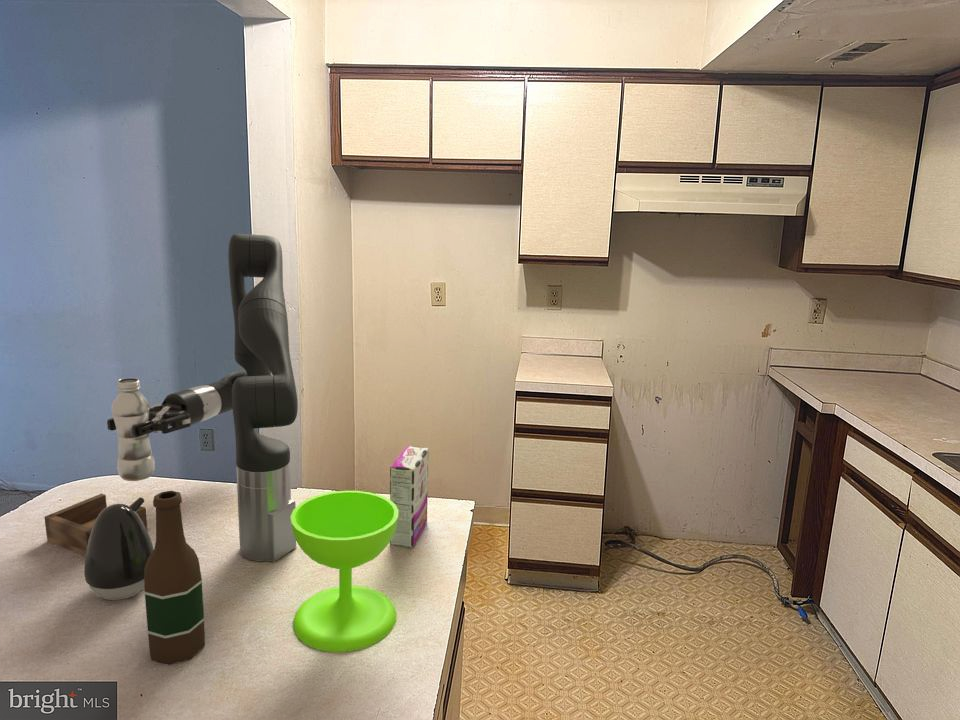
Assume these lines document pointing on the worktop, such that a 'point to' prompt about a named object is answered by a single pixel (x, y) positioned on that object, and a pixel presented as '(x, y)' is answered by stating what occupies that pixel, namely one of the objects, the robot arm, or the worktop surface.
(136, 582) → the black egg-shaped dispenser
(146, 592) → the beer bottle
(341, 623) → the wineglass
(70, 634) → the worktop surface
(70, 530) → the u rest
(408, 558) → the worktop surface
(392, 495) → the candy bar box
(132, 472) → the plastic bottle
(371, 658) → the worktop surface
